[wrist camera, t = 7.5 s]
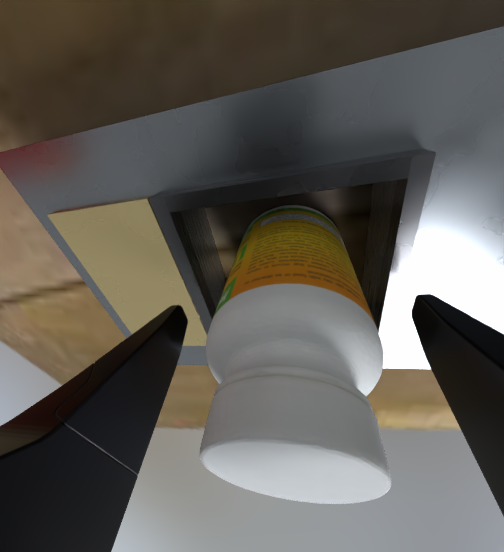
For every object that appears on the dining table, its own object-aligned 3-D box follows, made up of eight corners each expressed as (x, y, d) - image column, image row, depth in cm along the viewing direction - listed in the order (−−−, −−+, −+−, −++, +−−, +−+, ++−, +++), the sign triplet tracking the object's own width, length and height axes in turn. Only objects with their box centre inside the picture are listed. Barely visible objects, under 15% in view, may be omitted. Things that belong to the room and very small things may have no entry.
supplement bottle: (238, 201, 11) (125, 401, 4) (351, 202, 11) (512, 451, 3) (244, 286, 15) (191, 490, 7) (332, 291, 14) (385, 525, 6)
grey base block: (664, -5, 6) (931, -87, 4) (477, 333, 14) (520, 384, 12) (44, 146, 11) (-33, 158, 8) (161, 337, 19) (140, 374, 16)
